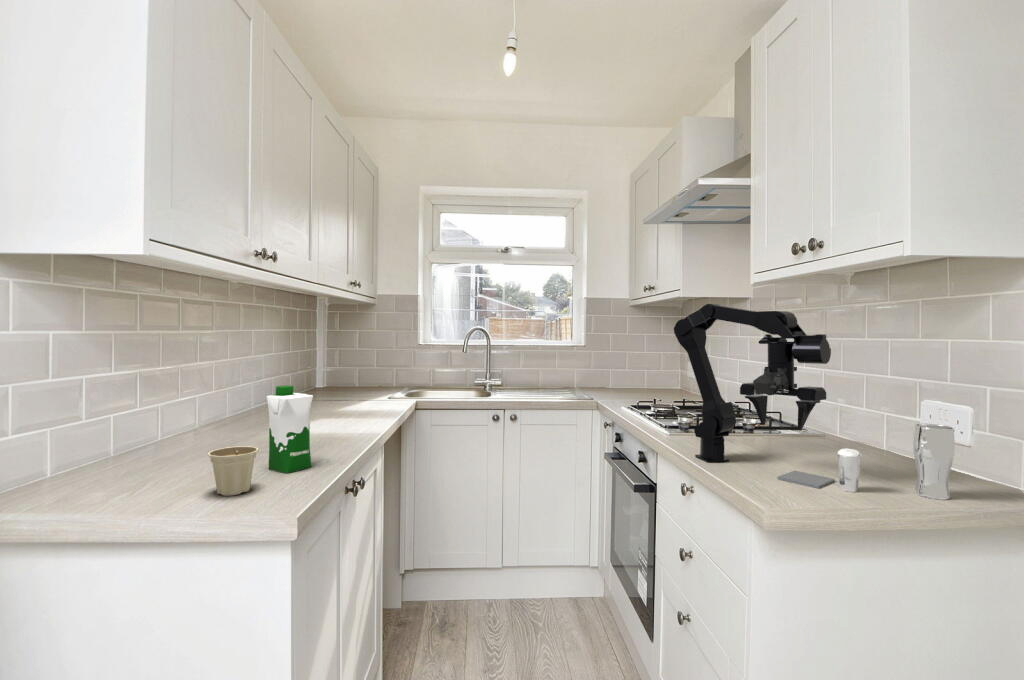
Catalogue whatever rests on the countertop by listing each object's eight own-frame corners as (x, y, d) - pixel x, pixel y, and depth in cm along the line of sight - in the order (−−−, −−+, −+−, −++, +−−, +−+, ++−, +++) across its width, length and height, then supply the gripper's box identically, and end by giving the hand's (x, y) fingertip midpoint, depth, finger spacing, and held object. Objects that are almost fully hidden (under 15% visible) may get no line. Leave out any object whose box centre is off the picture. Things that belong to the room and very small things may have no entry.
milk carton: (294, 461, 137) (294, 384, 137) (317, 467, 132) (317, 386, 132) (262, 469, 130) (262, 387, 129) (286, 475, 125) (285, 390, 124)
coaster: (777, 479, 126) (777, 476, 126) (794, 472, 132) (794, 470, 132) (818, 488, 119) (818, 485, 119) (834, 481, 125) (834, 478, 125)
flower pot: (203, 490, 113) (203, 449, 113) (251, 482, 119) (251, 443, 119) (213, 501, 106) (213, 458, 106) (263, 492, 112) (263, 451, 112)
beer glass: (950, 494, 116) (953, 425, 116) (954, 502, 110) (957, 430, 110) (911, 488, 120) (913, 422, 120) (912, 496, 114) (915, 426, 114)
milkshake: (852, 494, 115) (854, 448, 115) (831, 487, 120) (832, 443, 120) (869, 493, 116) (870, 447, 116) (847, 486, 121) (849, 442, 121)
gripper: (726, 362, 133) (726, 425, 133) (801, 365, 117) (802, 436, 117) (752, 361, 139) (752, 420, 139) (827, 363, 124) (827, 430, 124)
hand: (781, 426), depth 130 cm, fingers open, 9 cm apart
